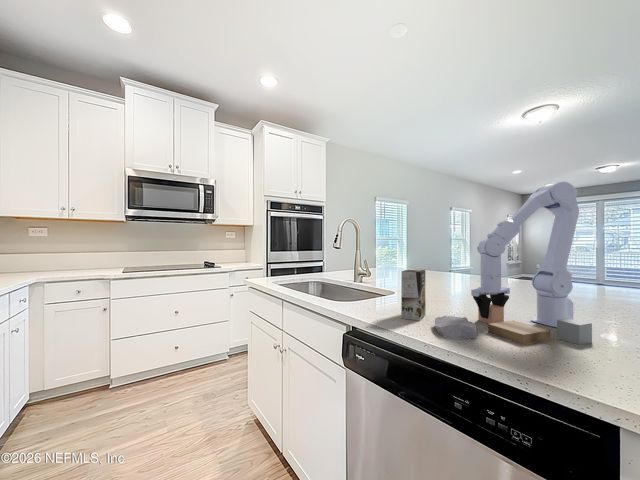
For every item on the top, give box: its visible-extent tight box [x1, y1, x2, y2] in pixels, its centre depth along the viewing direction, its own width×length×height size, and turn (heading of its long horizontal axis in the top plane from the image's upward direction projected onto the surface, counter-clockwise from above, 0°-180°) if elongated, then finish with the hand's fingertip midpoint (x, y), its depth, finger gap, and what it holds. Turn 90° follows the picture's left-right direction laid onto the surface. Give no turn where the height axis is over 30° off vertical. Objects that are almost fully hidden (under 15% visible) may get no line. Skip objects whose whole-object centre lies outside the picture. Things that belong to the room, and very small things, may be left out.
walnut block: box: [487, 320, 551, 346], centre depth 76 cm, size 10×10×3 cm
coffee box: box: [400, 269, 427, 322], centre depth 96 cm, size 9×6×16 cm
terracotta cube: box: [477, 303, 505, 324], centre depth 90 cm, size 5×5×5 cm
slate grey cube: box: [556, 318, 593, 345], centre depth 73 cm, size 5×5×5 cm
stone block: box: [434, 315, 478, 340], centre depth 80 cm, size 12×5×10 cm
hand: (490, 317), depth 90 cm, fingers closed on terracotta cube, 5 cm apart
